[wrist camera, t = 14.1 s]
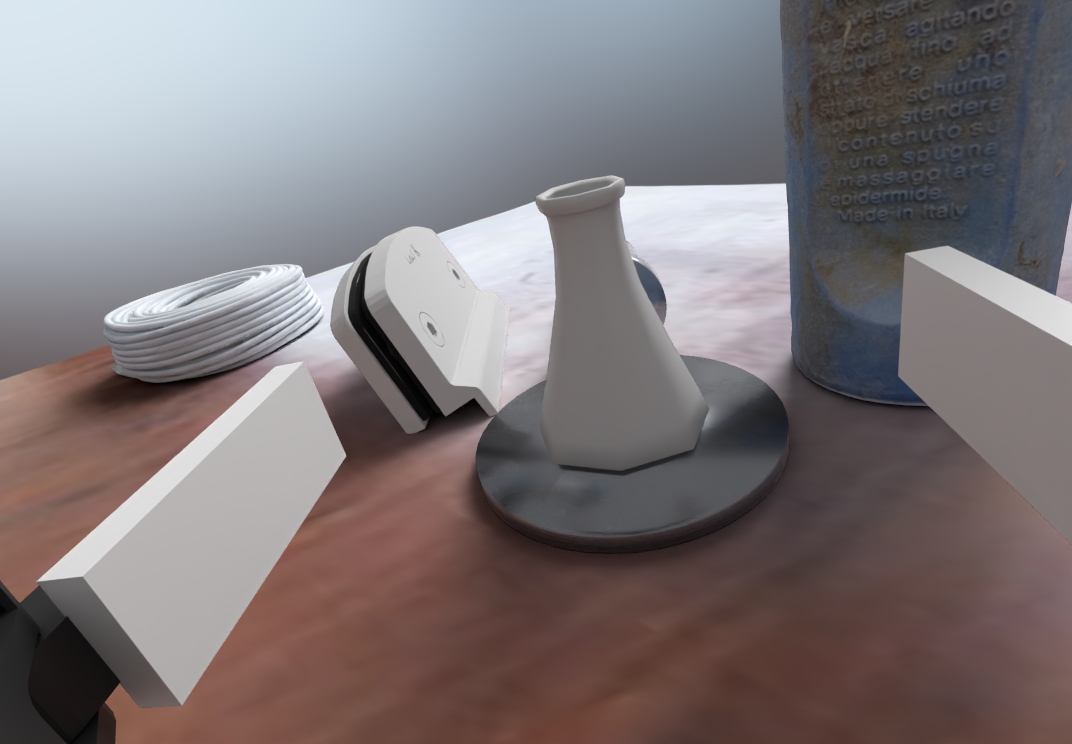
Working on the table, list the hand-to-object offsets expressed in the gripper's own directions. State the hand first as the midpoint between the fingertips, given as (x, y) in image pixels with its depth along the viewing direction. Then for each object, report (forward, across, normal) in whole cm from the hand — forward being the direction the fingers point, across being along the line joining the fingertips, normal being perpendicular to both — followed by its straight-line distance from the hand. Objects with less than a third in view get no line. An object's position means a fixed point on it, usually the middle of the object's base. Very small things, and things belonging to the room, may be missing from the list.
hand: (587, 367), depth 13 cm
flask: (+10, 0, -8) cm, 12 cm away
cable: (+35, -36, -9) cm, 51 cm away
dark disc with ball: (+16, 0, -9) cm, 18 cm away
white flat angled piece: (+22, -11, -9) cm, 26 cm away
